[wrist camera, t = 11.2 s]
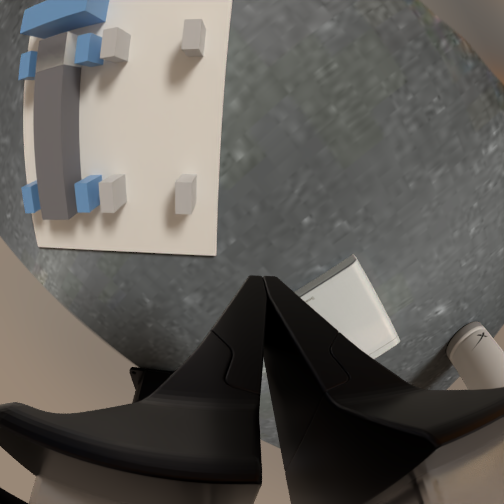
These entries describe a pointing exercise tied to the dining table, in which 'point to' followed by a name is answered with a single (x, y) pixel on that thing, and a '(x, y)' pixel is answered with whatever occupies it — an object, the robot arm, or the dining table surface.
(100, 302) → the dining table surface
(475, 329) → the travel mug
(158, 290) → the dining table surface
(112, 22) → the board
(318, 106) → the dining table surface
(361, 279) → the hard drive
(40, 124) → the dark grey bar
